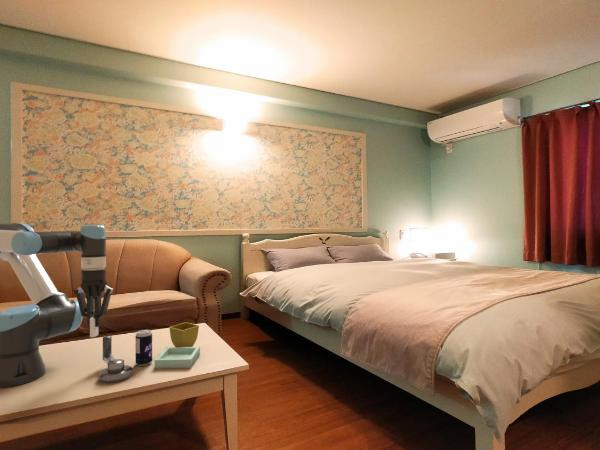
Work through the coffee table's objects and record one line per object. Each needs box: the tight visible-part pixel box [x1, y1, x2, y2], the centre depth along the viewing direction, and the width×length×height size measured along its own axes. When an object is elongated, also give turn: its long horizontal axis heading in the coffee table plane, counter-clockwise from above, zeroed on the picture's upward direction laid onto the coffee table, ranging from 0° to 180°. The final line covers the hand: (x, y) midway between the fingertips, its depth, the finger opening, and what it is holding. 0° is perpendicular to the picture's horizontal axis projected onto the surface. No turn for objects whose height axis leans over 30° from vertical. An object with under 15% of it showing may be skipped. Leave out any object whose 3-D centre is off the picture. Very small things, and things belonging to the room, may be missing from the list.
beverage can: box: [135, 329, 153, 367], centre depth 130 cm, size 6×6×12 cm
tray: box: [154, 346, 201, 369], centre depth 132 cm, size 13×13×3 cm
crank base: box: [98, 364, 133, 385], centre depth 119 cm, size 10×10×2 cm
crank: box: [102, 335, 125, 374], centre depth 122 cm, size 15×5×9 cm, turn 43°
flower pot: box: [169, 322, 200, 347], centre depth 147 cm, size 9×9×9 cm
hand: (94, 335), depth 123 cm, fingers closed
